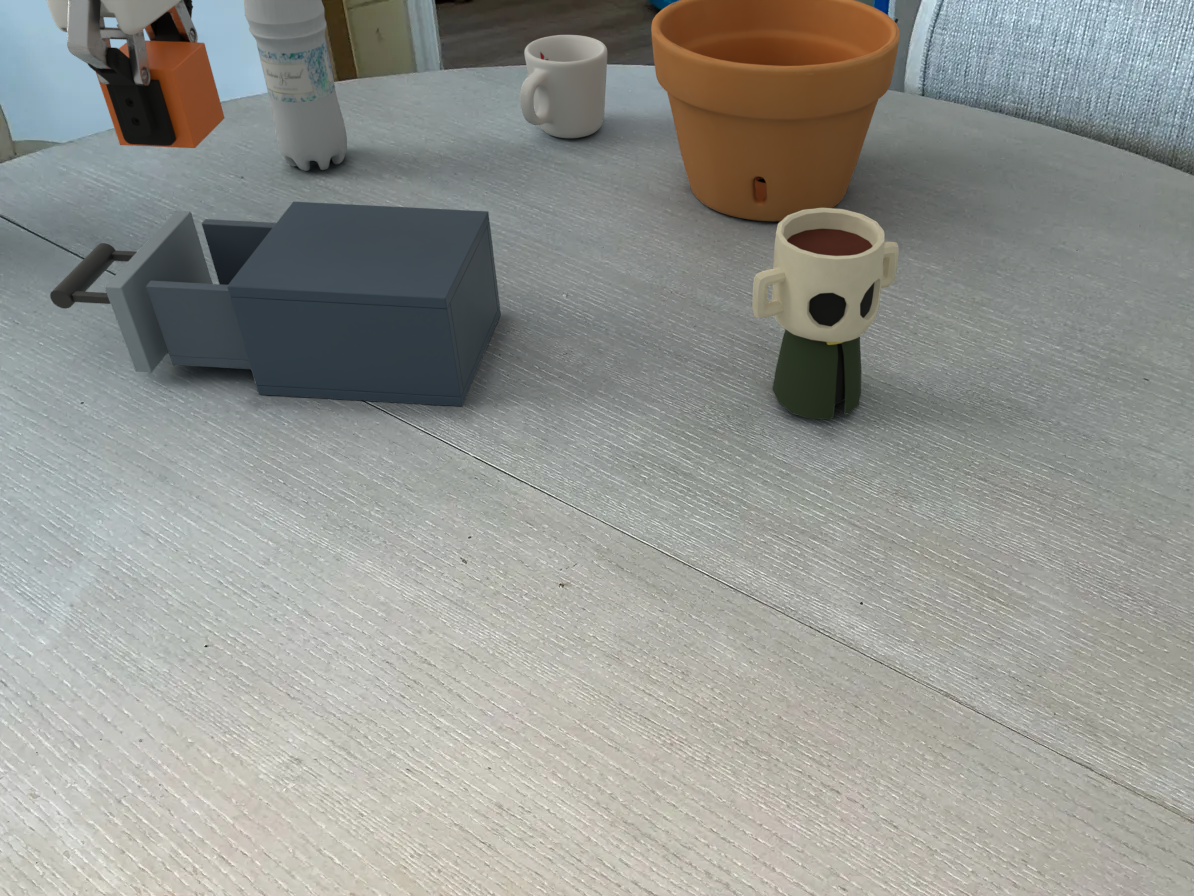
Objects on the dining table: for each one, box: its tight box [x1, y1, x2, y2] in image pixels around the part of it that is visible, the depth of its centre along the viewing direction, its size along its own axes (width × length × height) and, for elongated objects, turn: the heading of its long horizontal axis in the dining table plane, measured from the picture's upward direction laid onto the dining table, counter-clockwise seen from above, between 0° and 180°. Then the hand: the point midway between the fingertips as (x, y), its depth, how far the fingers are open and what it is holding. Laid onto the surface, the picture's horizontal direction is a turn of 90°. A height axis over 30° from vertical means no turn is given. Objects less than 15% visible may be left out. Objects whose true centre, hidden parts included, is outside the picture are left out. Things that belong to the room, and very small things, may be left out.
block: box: [95, 39, 225, 149], centre depth 76 cm, size 5×5×5 cm
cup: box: [519, 34, 608, 139], centre depth 115 cm, size 11×8×8 cm
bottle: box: [243, 0, 348, 171], centre depth 105 cm, size 7×7×20 cm
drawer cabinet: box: [227, 201, 502, 407], centre depth 84 cm, size 15×13×9 cm
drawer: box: [49, 210, 277, 374], centre depth 85 cm, size 19×11×7 cm, turn 86°
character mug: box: [751, 207, 900, 420], centre depth 79 cm, size 11×7×13 cm, turn 117°
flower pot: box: [650, 0, 901, 222], centre depth 104 cm, size 21×21×15 cm
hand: (170, 122), depth 77 cm, fingers closed on block, 5 cm apart
